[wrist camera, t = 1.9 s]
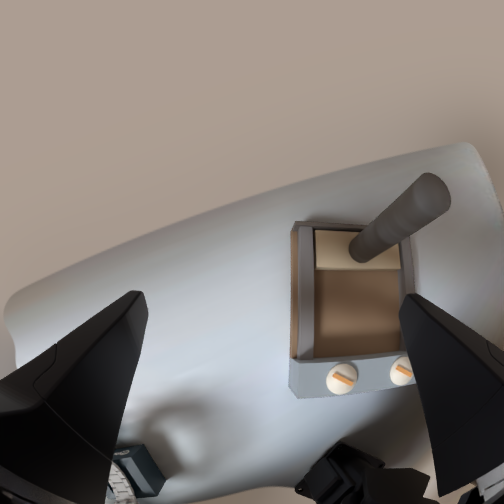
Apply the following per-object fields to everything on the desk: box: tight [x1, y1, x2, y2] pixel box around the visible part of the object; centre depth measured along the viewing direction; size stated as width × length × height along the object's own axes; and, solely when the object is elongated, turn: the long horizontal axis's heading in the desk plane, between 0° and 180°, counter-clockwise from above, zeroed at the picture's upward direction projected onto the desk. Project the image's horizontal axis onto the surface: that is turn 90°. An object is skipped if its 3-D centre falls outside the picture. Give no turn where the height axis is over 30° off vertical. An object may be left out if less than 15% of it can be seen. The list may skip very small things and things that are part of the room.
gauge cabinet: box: [289, 351, 416, 399], centre depth 18 cm, size 2×11×4 cm, turn 88°
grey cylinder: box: [313, 173, 451, 271], centre depth 16 cm, size 3×8×11 cm, turn 88°
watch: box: [106, 444, 166, 504], centre depth 12 cm, size 6×8×11 cm
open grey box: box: [290, 221, 415, 360], centre depth 21 cm, size 13×11×2 cm
